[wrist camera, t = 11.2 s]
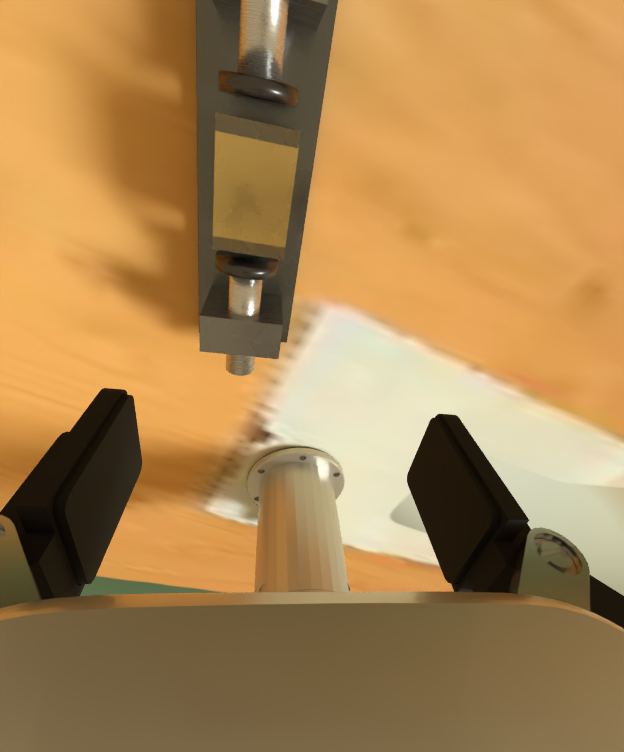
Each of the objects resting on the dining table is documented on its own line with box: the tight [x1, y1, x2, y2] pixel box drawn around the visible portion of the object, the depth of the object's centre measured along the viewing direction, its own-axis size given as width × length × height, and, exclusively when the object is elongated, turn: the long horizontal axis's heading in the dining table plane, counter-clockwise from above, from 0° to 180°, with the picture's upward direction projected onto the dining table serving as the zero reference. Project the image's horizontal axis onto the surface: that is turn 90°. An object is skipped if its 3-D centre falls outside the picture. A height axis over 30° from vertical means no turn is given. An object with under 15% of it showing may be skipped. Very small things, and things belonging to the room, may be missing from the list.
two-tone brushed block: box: [212, 112, 301, 260], centre depth 23 cm, size 7×4×6 cm, turn 169°
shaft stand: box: [196, 0, 338, 376], centre depth 23 cm, size 28×8×7 cm, turn 170°
